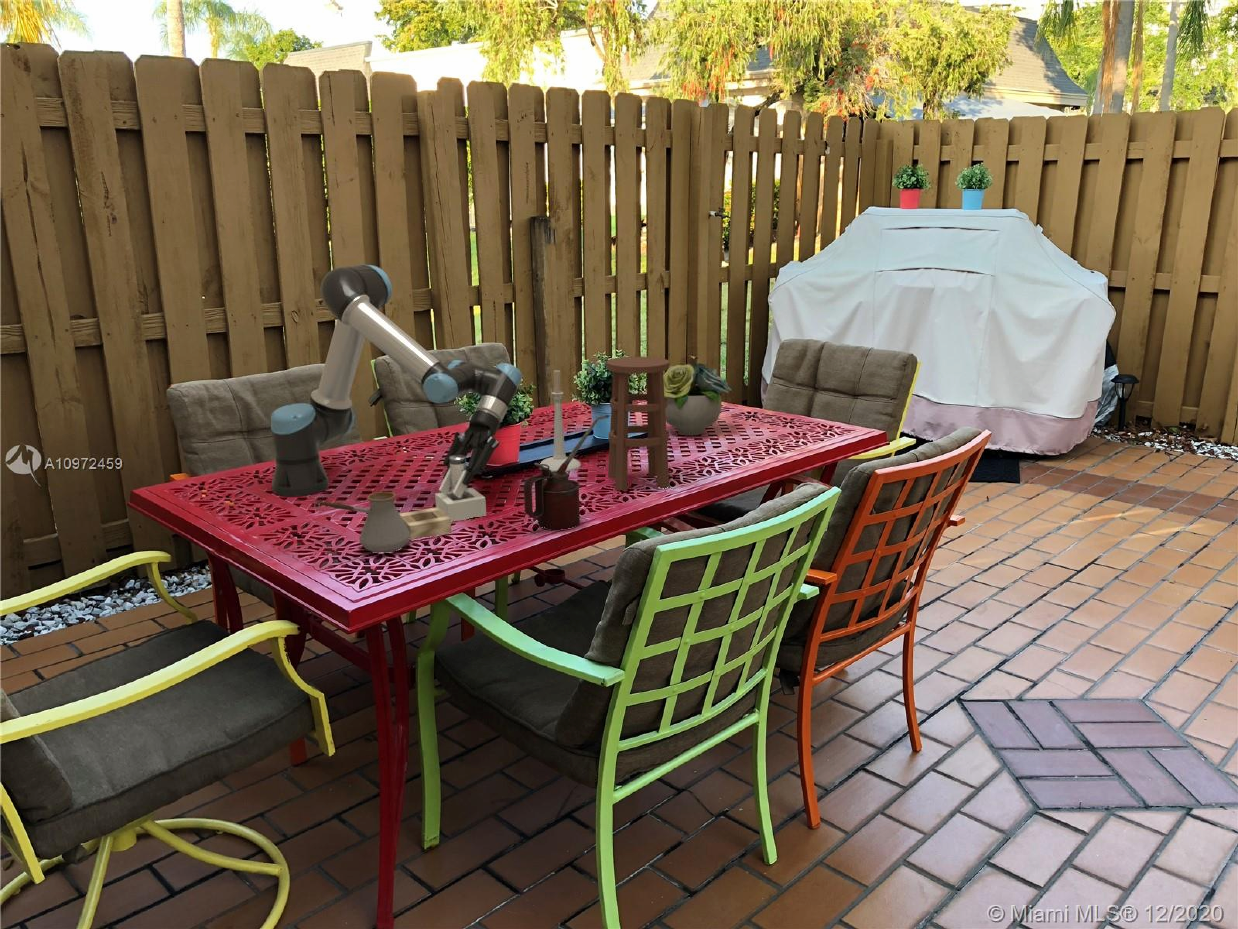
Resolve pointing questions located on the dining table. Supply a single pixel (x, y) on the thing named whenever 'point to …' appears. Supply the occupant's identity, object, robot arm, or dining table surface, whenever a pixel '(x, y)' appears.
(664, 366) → the stool
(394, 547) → the coffee pot
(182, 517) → the dining table surface
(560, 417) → the candlestick
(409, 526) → the socket block
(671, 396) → the flower arrangement
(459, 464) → the salt shaker
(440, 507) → the small grey open-top box
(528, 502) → the oil can
